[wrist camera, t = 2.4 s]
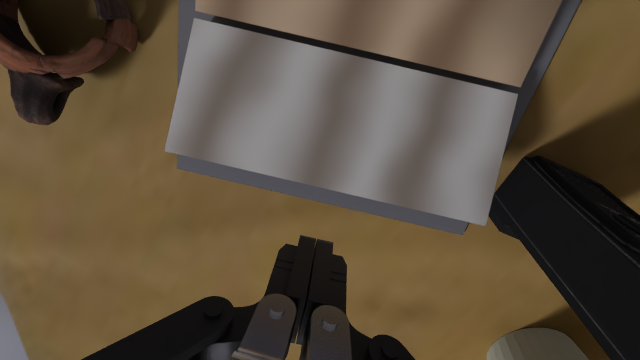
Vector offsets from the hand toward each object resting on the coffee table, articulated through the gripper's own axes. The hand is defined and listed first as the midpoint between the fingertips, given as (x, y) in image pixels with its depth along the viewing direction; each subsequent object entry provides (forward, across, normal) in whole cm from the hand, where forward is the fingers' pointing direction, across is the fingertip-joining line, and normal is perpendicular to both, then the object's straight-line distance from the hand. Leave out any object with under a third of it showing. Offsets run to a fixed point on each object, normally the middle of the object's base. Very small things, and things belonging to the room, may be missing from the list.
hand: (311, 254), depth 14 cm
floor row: (+13, 0, -12) cm, 18 cm away
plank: (+11, 0, -3) cm, 12 cm away
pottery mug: (+14, +21, -4) cm, 25 cm away
